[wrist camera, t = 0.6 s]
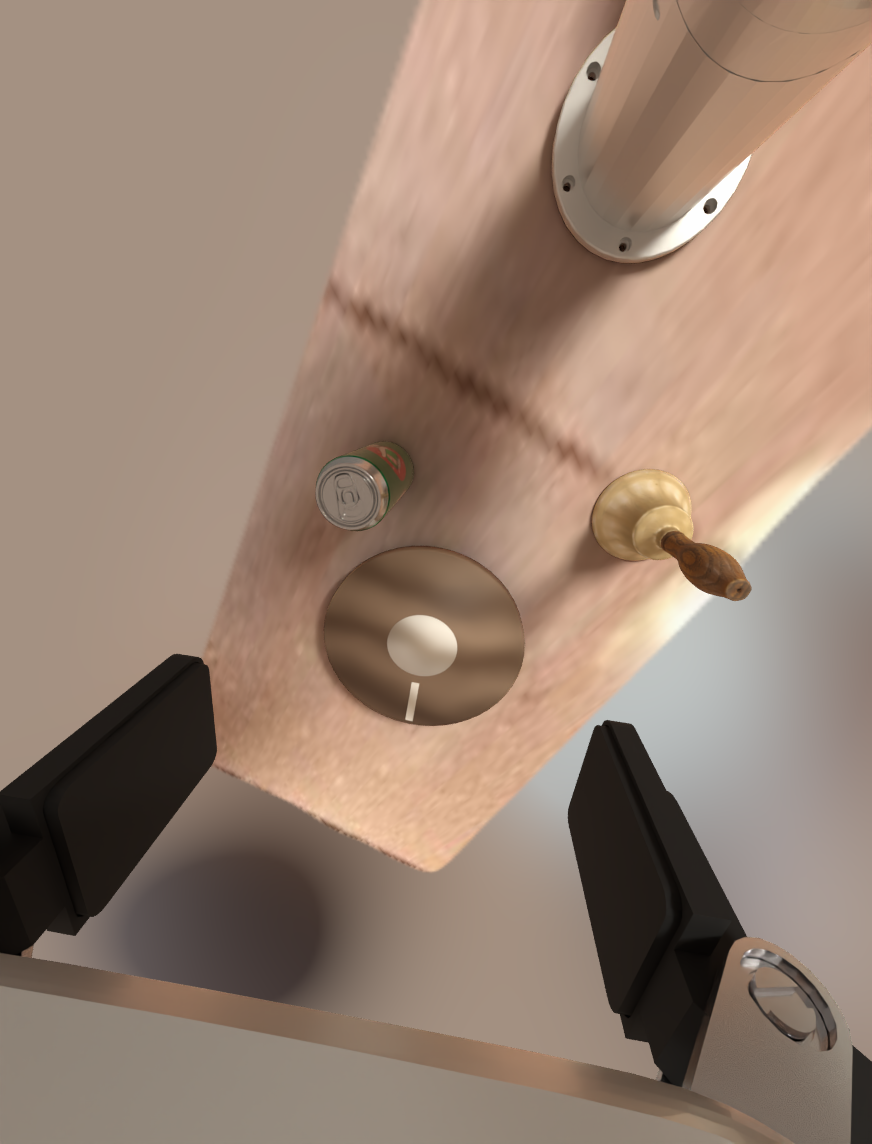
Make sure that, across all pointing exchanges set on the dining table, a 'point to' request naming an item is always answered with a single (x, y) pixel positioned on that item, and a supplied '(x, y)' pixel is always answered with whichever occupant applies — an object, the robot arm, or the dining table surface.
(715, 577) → the hand bell
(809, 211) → the dining table surface
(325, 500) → the soda can
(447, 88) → the dining table surface
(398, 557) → the turntable
